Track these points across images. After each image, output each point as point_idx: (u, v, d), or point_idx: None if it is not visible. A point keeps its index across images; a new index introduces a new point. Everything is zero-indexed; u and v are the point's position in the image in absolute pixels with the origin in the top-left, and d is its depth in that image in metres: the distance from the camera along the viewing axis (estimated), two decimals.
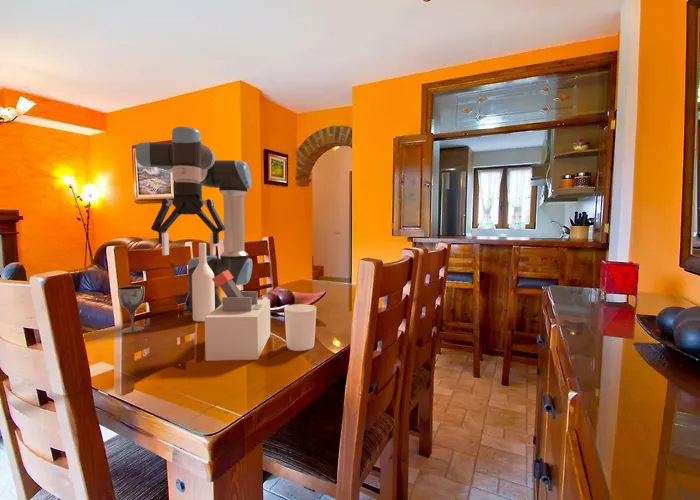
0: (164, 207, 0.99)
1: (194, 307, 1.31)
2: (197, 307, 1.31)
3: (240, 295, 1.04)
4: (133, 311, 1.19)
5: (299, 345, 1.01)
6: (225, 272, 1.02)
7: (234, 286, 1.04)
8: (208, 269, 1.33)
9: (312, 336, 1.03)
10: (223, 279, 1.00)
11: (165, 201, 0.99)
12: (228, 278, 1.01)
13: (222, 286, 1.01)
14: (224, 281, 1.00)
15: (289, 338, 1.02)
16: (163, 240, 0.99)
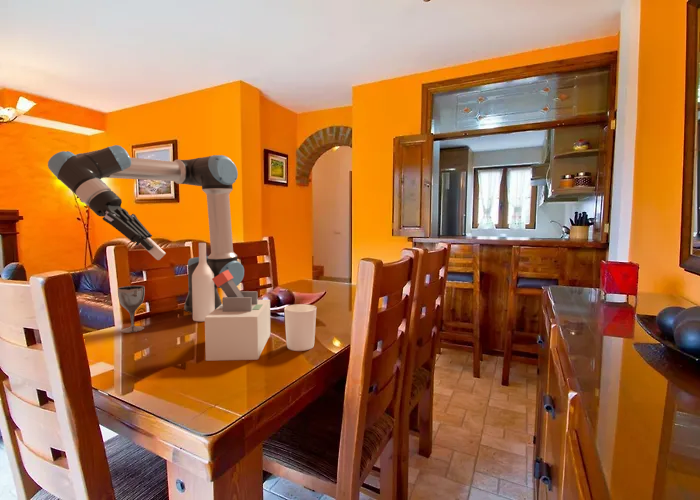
0: None
1: (194, 307, 1.31)
2: (197, 307, 1.31)
3: (240, 295, 1.04)
4: (133, 311, 1.19)
5: (299, 345, 1.01)
6: (225, 272, 1.02)
7: (234, 286, 1.04)
8: (208, 269, 1.33)
9: (312, 336, 1.03)
10: (223, 279, 1.00)
11: None
12: (228, 278, 1.01)
13: (222, 286, 1.01)
14: (224, 281, 1.00)
15: (289, 338, 1.02)
16: None
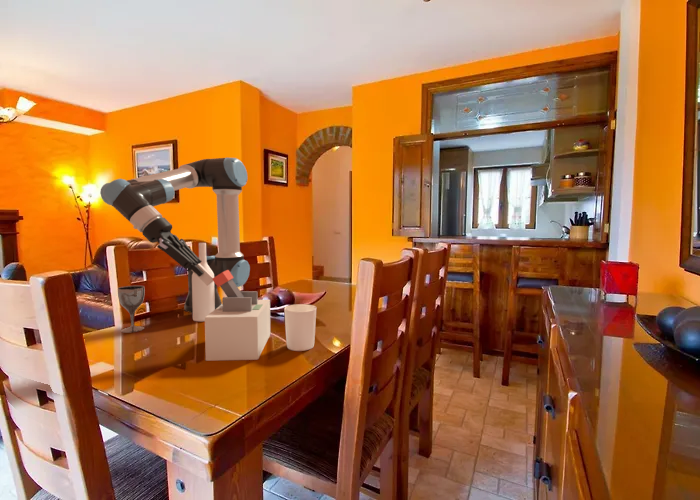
0: None
1: (194, 307, 1.31)
2: (197, 307, 1.31)
3: (240, 295, 1.04)
4: (133, 311, 1.19)
5: (299, 345, 1.01)
6: (225, 272, 1.02)
7: (234, 286, 1.04)
8: (208, 269, 1.33)
9: (312, 336, 1.03)
10: (224, 279, 1.00)
11: None
12: (228, 278, 1.01)
13: (222, 286, 1.01)
14: (224, 281, 1.00)
15: (289, 338, 1.02)
16: None
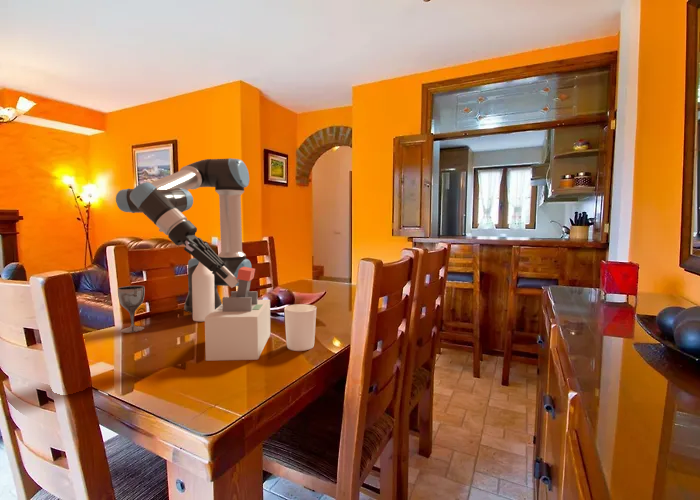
0: None
1: (194, 307, 1.31)
2: (197, 307, 1.31)
3: None
4: (133, 311, 1.19)
5: (299, 345, 1.01)
6: (252, 271, 1.03)
7: (248, 286, 1.04)
8: (208, 269, 1.33)
9: (312, 336, 1.03)
10: (247, 277, 1.00)
11: None
12: (250, 278, 1.02)
13: (241, 281, 1.01)
14: (246, 279, 1.00)
15: (289, 338, 1.02)
16: None
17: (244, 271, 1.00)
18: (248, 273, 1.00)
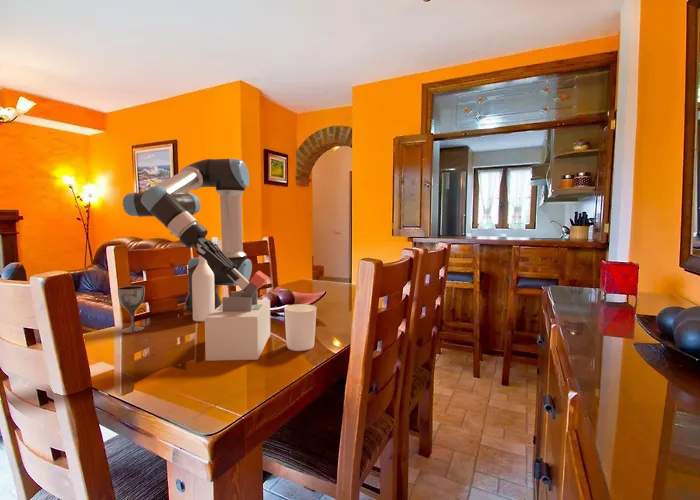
0: None
1: (194, 307, 1.31)
2: (197, 307, 1.31)
3: None
4: (133, 311, 1.19)
5: (299, 345, 1.01)
6: (265, 280, 1.03)
7: (255, 291, 1.04)
8: (208, 269, 1.33)
9: (312, 336, 1.03)
10: (259, 284, 1.01)
11: None
12: (261, 285, 1.02)
13: (251, 284, 1.01)
14: (257, 285, 1.01)
15: (289, 338, 1.02)
16: None
17: (259, 277, 1.01)
18: (262, 281, 1.01)
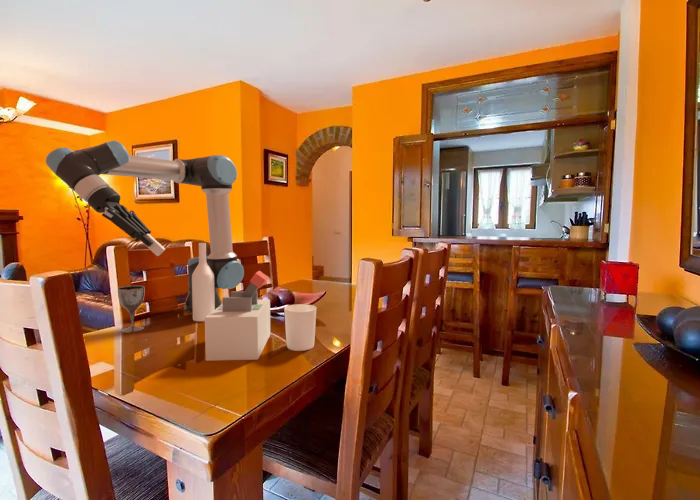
0: None
1: (194, 307, 1.31)
2: (197, 307, 1.31)
3: None
4: (133, 311, 1.19)
5: (299, 345, 1.01)
6: None
7: (255, 291, 1.04)
8: (208, 269, 1.33)
9: (312, 336, 1.03)
10: (259, 284, 1.01)
11: None
12: None
13: (252, 284, 1.01)
14: (257, 285, 1.01)
15: (289, 338, 1.02)
16: None
17: (259, 277, 1.01)
18: (262, 281, 1.01)
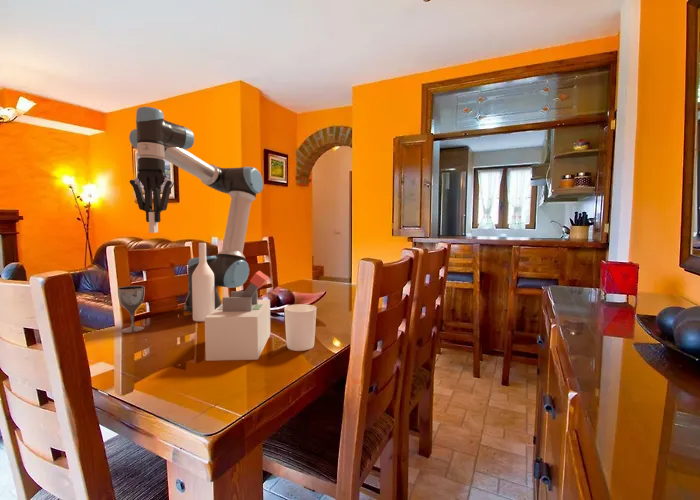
0: (135, 186, 1.08)
1: (194, 307, 1.31)
2: (197, 307, 1.31)
3: None
4: (133, 311, 1.19)
5: (299, 345, 1.01)
6: None
7: (255, 291, 1.04)
8: (208, 269, 1.33)
9: (312, 336, 1.03)
10: (259, 284, 1.01)
11: (132, 181, 1.08)
12: None
13: (252, 284, 1.01)
14: (257, 285, 1.01)
15: (289, 338, 1.02)
16: (150, 219, 1.09)
17: (259, 277, 1.01)
18: (262, 281, 1.01)
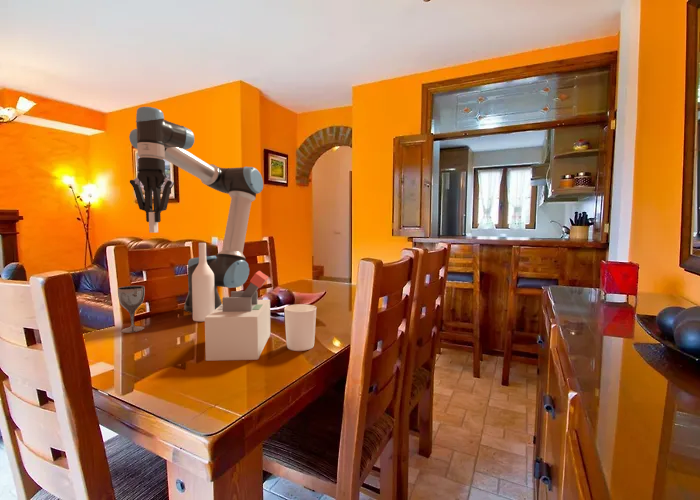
0: (135, 186, 1.08)
1: (194, 307, 1.31)
2: (197, 307, 1.31)
3: None
4: (133, 311, 1.19)
5: (299, 345, 1.01)
6: None
7: (255, 291, 1.04)
8: (208, 269, 1.33)
9: (312, 336, 1.03)
10: (259, 284, 1.01)
11: (132, 181, 1.08)
12: None
13: (252, 284, 1.01)
14: (257, 285, 1.01)
15: (289, 338, 1.02)
16: (150, 219, 1.09)
17: (259, 277, 1.01)
18: (262, 281, 1.01)
